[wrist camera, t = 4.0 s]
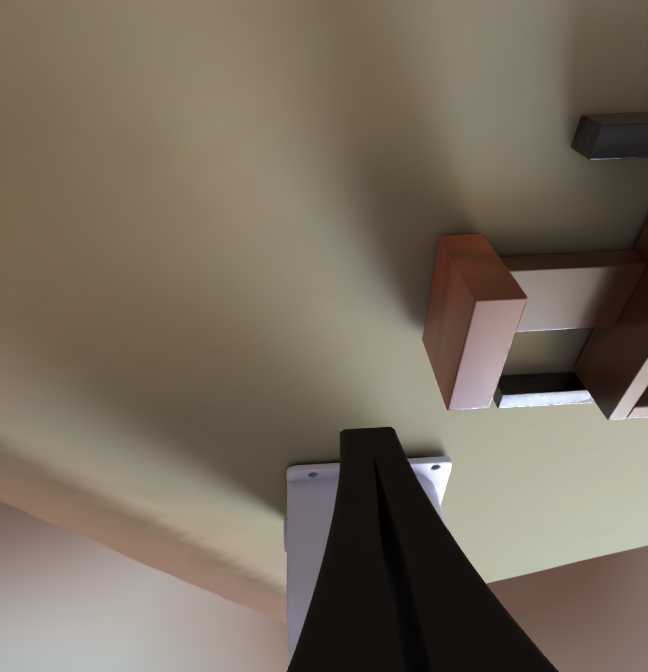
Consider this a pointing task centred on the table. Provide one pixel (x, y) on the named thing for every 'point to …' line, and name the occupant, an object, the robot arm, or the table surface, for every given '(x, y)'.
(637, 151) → the rails
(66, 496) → the table surface
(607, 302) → the carrier
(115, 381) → the table surface
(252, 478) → the table surface
